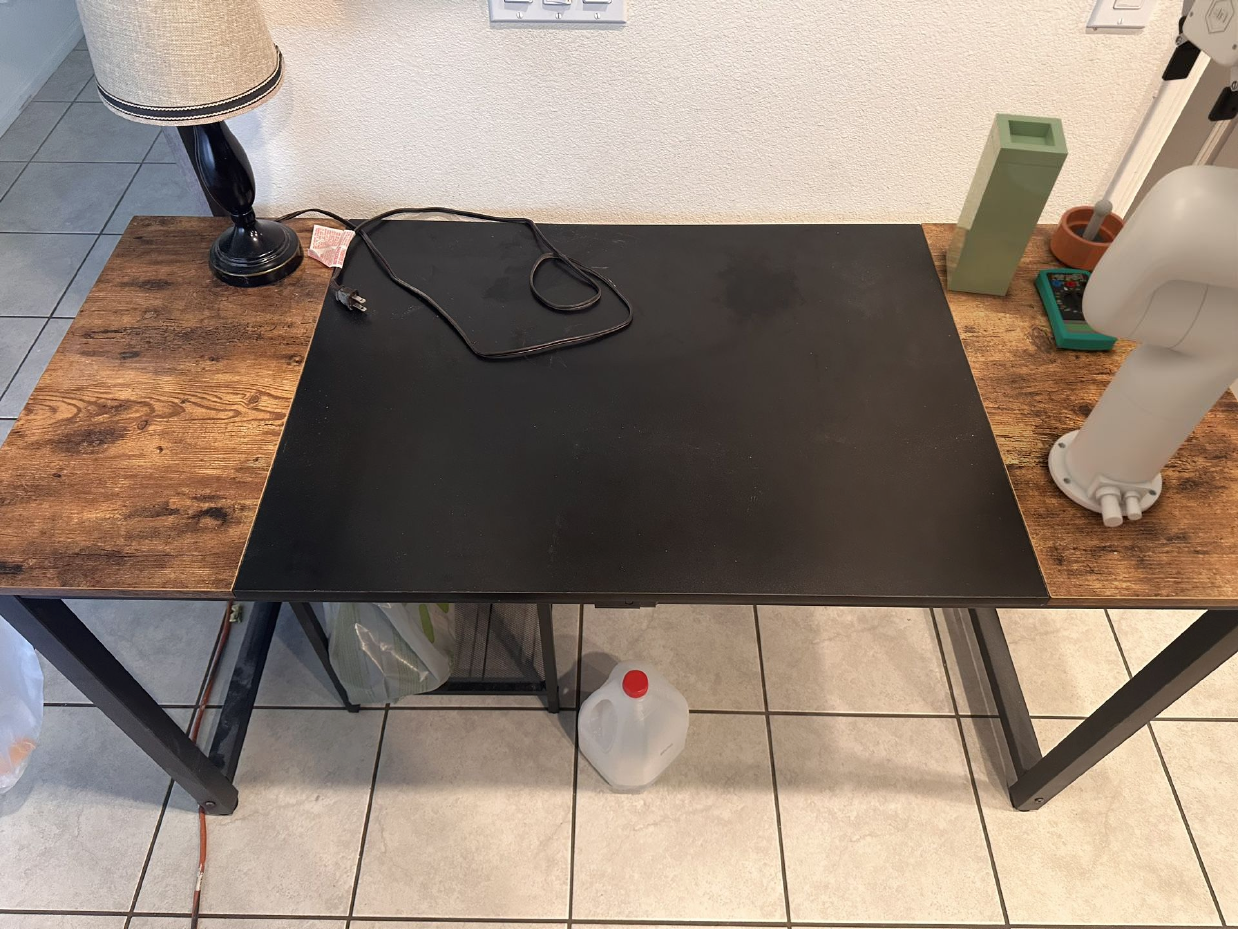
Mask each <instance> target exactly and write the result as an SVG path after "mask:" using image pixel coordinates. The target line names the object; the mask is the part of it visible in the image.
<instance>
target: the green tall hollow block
mask: <svg viewBox="0 0 1238 929" xmlns="http://www.w3.org/2000/svg"><path fill="white" fill-rule="evenodd" d="M1068 155H1069V152H1068V146H1067V142H1066V136H1065V132H1064V128H1063V122H1062V118H1059V117H1058V118H1057V117H1046V116H1036V115H1022V114H1011V113H1000V112H996V113H995V116H994V118H993V121H992V124H991V127H990V130H989V133H988V135H987V138H986V142H985V144H984V147H983V150H982V153H981V155H980V159H979V161H978V163H977V167H976V170H975V172H974V175H973V178H972V180H971V184H970V186H969V189H968V192H967V194H966V197H965V200H964V203H963V206H962V209H961V212H960V214H959V217H958V220H957V222H956V226H955V228H954V231H953V234H952V237H951V240H950V242H949V245H948V248H947V251H946V253H945V263H946V264H945V265H946V267H945V268H946V280H947V290H948V291H955V292H962V293H963V292H964V293H973V294H981V295H989V296H998V297H1005V296H1006V294H1007V291H1008V290H1009V288H1010V285H1011V284H1012V281H1013V278H1014V277H1015V274H1016V272H1017V270H1018V267H1019V265H1020V263H1021V261H1022V258H1023V256H1024V254H1025V252H1026V249H1027V247H1028V245H1029V243H1030V242H1031V241H1030V240H1031V239H1032V236H1033V234H1034V232H1035V229H1036V227H1037V225H1038V223H1039V220H1040V219H1041V216H1042V213H1043V212H1044V209H1045V207H1046V205H1047V202H1048V200H1049V198H1050V195H1051V193H1052V191H1053V188H1054V187H1055V184H1056V183H1057V181H1058V178H1059V176H1060V173H1061V171H1062V169H1063V167H1064V164H1065V162H1066V160H1067V158H1068Z"/></svg>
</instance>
